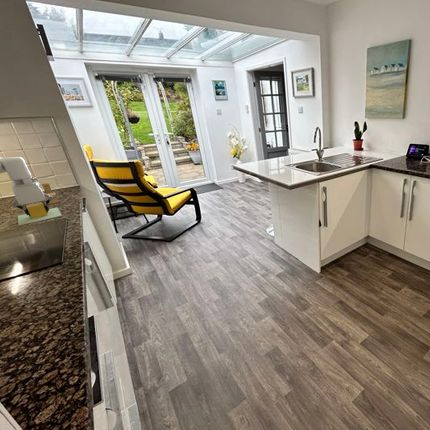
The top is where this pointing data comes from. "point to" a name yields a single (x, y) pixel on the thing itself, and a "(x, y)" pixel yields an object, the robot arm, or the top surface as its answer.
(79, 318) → the top surface
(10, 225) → the top surface
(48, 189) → the supplement box
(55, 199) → the base block
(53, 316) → the top surface
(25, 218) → the mat
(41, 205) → the top cube
